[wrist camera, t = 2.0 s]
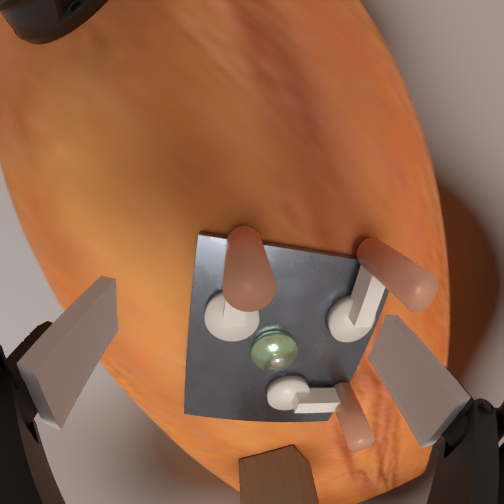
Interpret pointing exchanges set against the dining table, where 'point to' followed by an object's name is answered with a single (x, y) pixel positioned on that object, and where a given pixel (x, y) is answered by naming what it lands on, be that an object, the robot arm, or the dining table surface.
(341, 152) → the dining table surface
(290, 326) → the base plate
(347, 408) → the knob
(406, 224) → the dining table surface
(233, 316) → the knob
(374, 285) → the knob
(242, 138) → the dining table surface
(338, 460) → the dining table surface
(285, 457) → the wooden block
